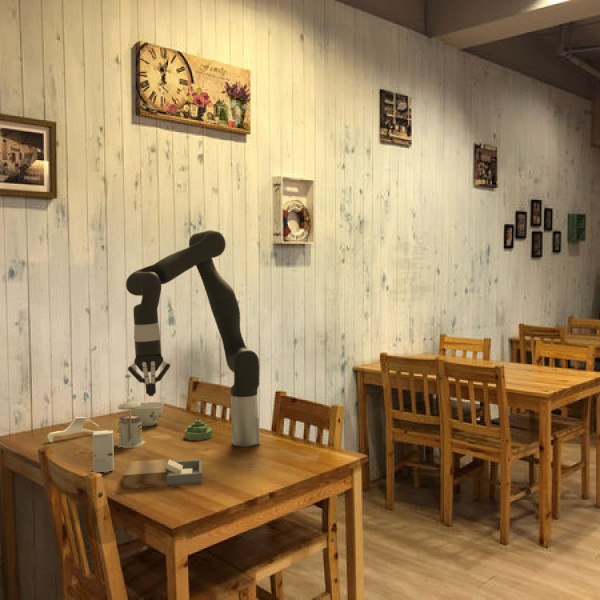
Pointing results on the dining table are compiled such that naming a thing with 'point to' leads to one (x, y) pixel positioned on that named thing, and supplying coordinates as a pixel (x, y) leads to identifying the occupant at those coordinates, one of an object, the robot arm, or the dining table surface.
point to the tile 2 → (186, 471)
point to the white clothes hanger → (73, 428)
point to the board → (145, 473)
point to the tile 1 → (174, 467)
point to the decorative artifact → (198, 431)
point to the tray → (187, 478)
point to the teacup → (149, 412)
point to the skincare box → (103, 451)
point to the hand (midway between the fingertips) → (151, 395)
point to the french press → (130, 425)
